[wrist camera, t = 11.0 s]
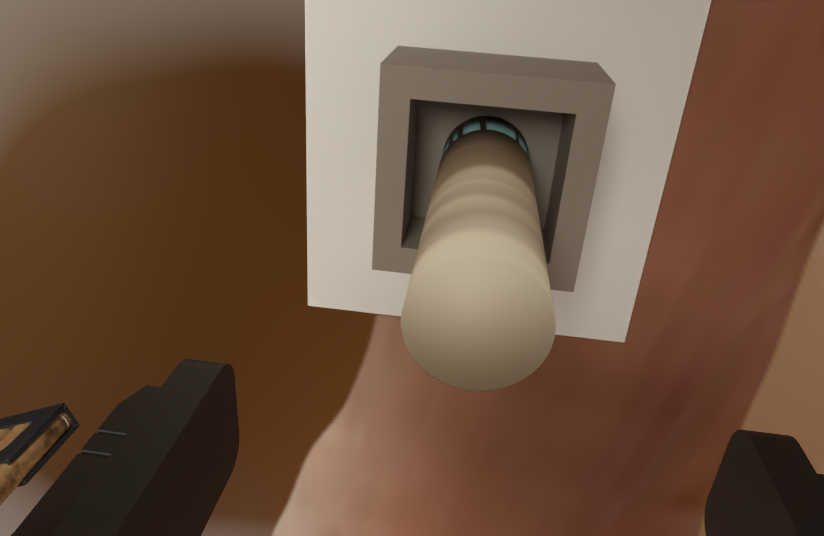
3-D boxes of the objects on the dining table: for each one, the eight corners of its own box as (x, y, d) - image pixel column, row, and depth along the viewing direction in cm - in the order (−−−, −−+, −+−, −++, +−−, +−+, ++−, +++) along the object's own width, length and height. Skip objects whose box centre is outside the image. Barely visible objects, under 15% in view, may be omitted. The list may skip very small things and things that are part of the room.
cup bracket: (313, -152, 25) (229, -195, 17) (731, -125, 24) (845, -159, 16) (315, 291, 35) (260, 396, 27) (619, 326, 33) (657, 447, 25)
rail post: (446, 111, 23) (405, 250, 13) (535, 119, 23) (567, 267, 13) (438, 194, 25) (396, 381, 14) (522, 203, 25) (542, 399, 14)
